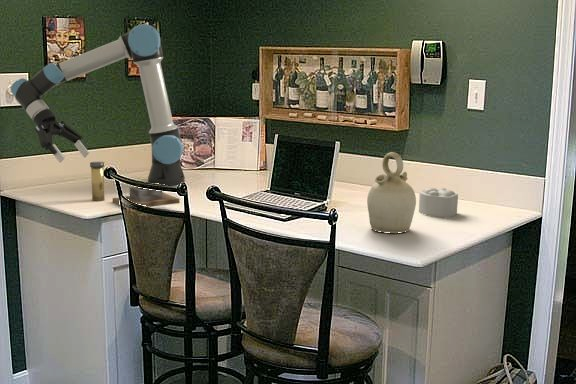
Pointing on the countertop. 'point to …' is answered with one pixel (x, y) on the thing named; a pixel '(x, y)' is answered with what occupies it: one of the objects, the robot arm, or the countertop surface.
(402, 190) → the jug
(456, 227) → the countertop surface
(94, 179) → the gold cylindrical piece
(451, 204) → the lumpy-topped squat cylinder
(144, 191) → the hitch socket board
